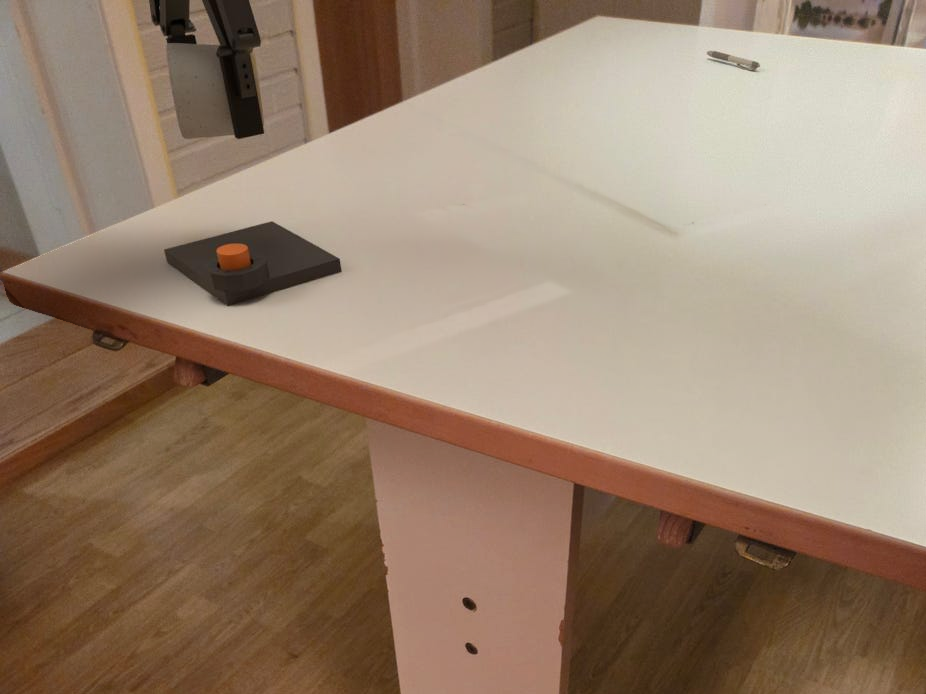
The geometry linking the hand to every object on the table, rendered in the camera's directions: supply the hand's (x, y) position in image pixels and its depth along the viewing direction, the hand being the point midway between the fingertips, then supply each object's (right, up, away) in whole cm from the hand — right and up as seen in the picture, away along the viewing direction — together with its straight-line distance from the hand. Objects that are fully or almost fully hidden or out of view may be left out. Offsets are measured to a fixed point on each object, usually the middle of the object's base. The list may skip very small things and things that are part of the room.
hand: (222, 123), depth 86 cm
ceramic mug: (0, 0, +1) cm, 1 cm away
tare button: (+1, -14, 0) cm, 14 cm away
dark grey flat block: (+1, -11, +6) cm, 13 cm away
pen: (+70, +51, +68) cm, 110 cm away
